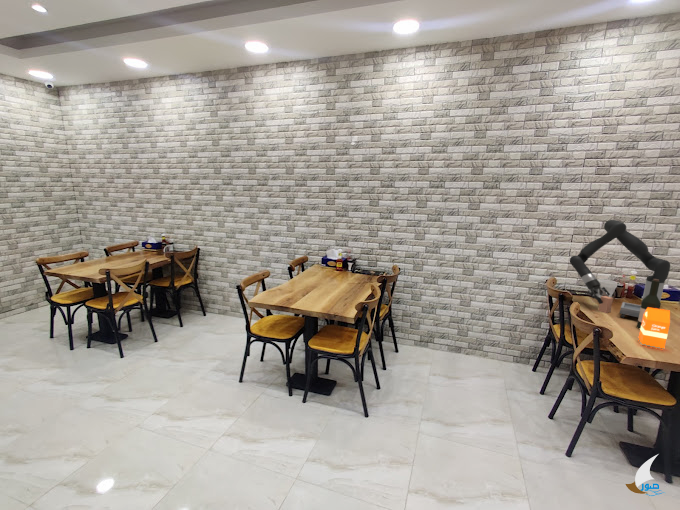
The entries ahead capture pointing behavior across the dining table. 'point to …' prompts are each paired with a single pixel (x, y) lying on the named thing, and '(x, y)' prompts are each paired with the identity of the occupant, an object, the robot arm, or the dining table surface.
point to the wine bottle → (649, 301)
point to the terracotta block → (605, 304)
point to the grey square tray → (630, 309)
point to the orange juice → (655, 327)
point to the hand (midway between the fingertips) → (605, 302)
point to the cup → (608, 285)
